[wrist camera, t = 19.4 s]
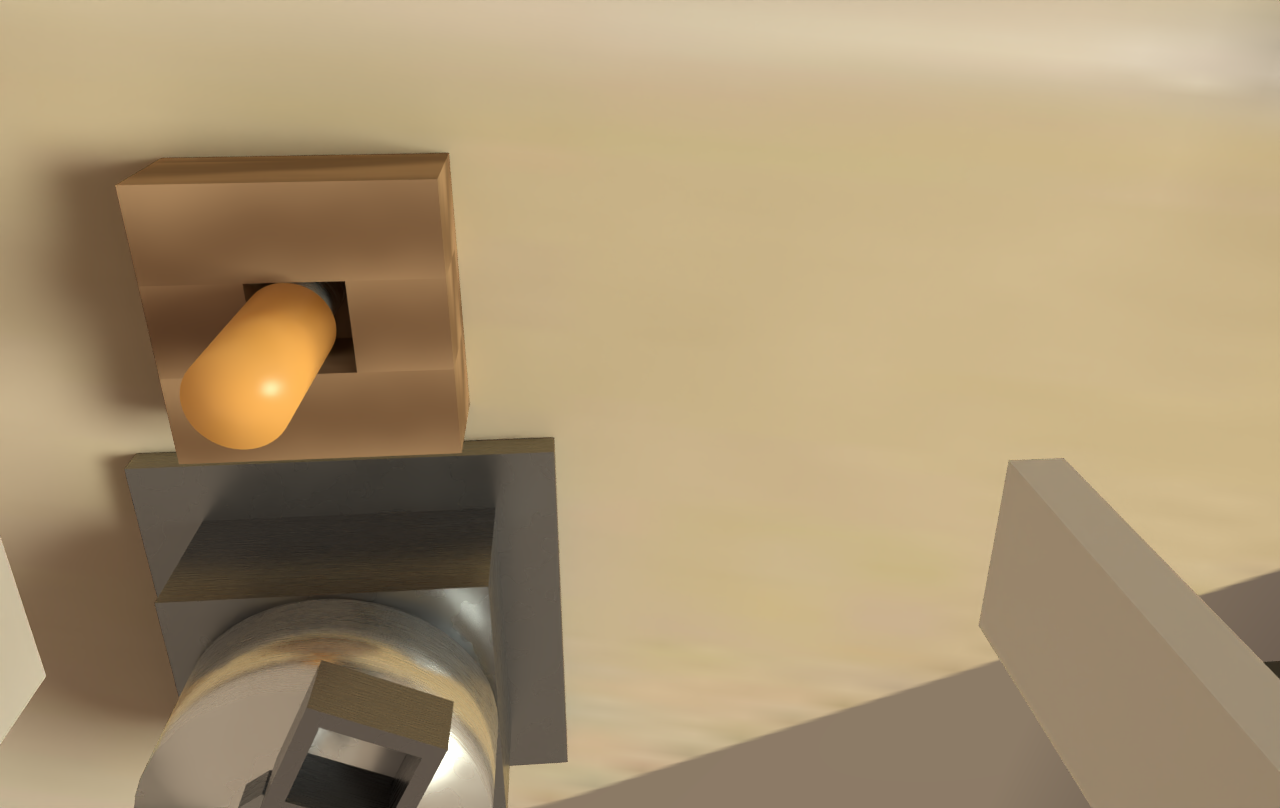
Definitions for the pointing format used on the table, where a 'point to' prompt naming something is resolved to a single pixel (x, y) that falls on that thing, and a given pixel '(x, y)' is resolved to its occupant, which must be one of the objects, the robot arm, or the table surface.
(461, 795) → the chuck
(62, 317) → the table surface
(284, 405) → the orange rounded rod
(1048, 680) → the robot arm
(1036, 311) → the table surface
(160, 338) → the wooden hole block
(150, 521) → the stand
